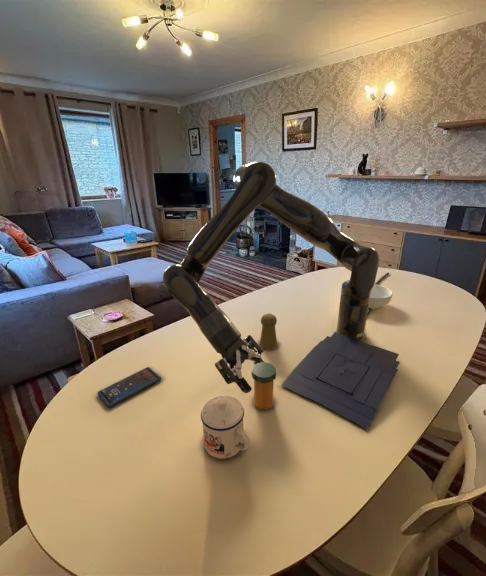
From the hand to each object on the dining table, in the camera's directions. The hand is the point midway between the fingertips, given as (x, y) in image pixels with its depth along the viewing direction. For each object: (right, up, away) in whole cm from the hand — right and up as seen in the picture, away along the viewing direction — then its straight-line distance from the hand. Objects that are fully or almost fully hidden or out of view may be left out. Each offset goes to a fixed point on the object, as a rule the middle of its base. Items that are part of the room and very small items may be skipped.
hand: (258, 381), depth 77 cm
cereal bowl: (+48, +16, +55) cm, 75 cm away
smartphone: (-35, -4, +7) cm, 36 cm away
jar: (+1, -6, +2) cm, 6 cm away
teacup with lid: (-6, -11, -10) cm, 16 cm away
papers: (+25, -2, +11) cm, 28 cm away
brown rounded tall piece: (+4, +4, +27) cm, 27 cm away
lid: (+1, +3, -2) cm, 4 cm away
